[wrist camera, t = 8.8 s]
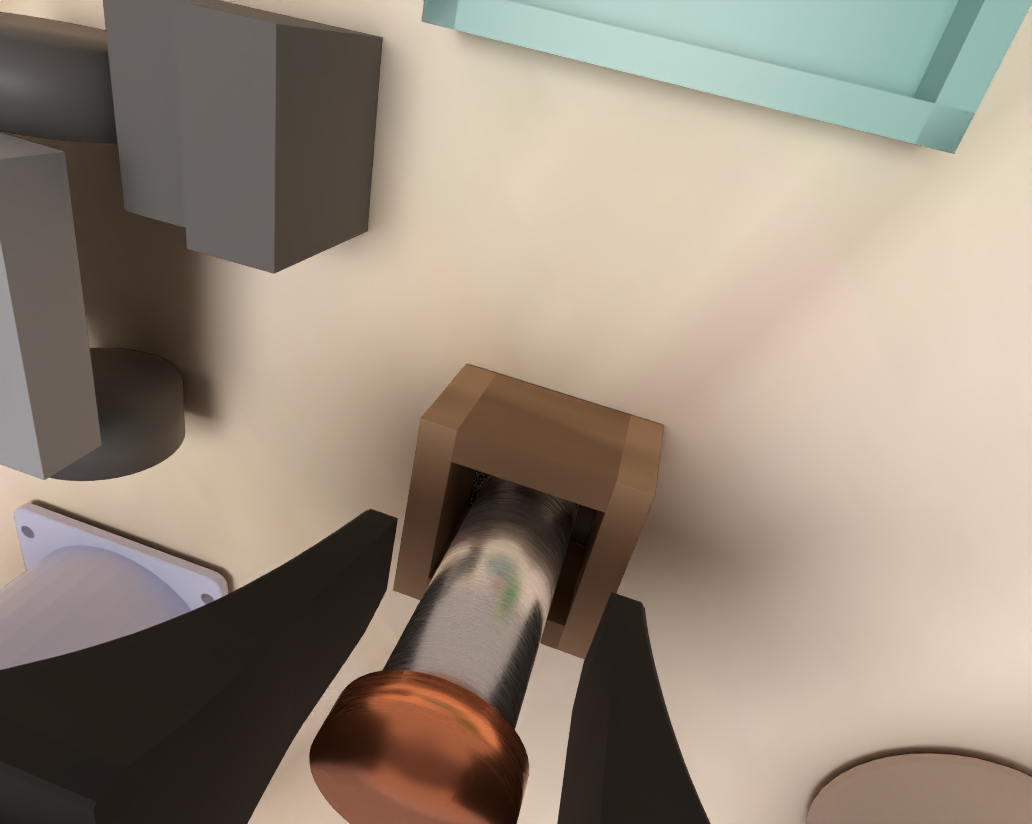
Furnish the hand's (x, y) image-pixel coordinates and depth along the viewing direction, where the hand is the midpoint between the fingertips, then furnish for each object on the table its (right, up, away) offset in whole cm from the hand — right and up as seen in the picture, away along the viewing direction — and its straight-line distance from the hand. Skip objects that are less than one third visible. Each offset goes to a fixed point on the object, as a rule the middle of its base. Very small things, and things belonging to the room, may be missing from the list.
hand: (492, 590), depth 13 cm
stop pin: (+1, +2, +4) cm, 4 cm away
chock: (-4, +10, +1) cm, 11 cm away
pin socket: (+1, +2, +4) cm, 4 cm away
